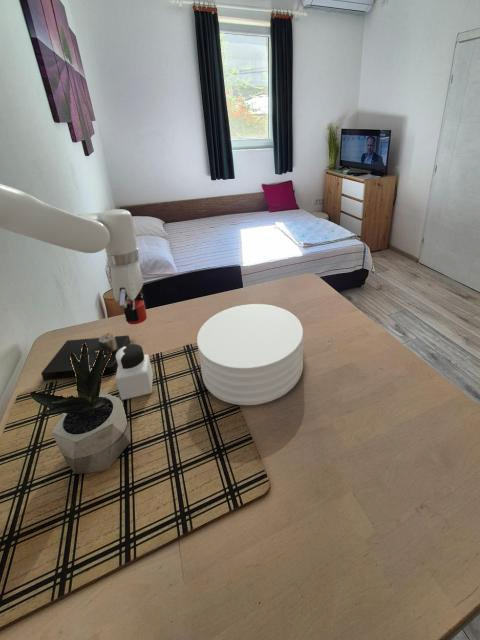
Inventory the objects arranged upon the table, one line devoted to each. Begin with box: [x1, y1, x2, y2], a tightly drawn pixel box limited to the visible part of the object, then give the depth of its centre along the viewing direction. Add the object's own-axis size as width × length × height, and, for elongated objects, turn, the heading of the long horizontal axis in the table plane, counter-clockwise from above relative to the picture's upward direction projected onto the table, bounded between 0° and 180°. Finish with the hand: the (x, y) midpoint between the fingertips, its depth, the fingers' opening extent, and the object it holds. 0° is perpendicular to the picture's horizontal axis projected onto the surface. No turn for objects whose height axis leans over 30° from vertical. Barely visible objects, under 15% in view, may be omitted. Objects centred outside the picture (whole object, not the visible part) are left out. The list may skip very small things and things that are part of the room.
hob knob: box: [98, 332, 118, 355], centre depth 93 cm, size 4×4×5 cm
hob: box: [40, 334, 131, 381], centre depth 94 cm, size 19×14×3 cm
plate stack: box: [196, 303, 304, 406], centre depth 89 cm, size 28×28×12 cm
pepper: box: [127, 299, 148, 325], centre depth 92 cm, size 5×5×7 cm
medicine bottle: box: [115, 343, 154, 401], centre depth 82 cm, size 7×7×12 cm
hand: (136, 314), depth 93 cm, fingers closed on pepper, 5 cm apart
